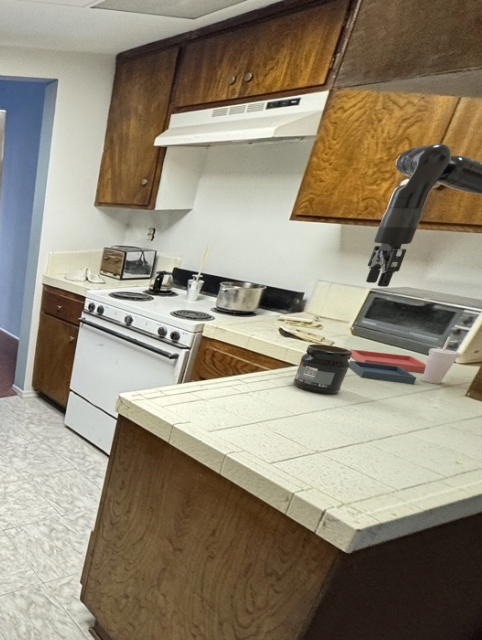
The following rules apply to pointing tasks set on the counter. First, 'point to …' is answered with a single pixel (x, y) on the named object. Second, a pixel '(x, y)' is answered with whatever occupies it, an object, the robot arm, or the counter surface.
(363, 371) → the slate tray
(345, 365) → the supplement container
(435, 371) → the smoothie
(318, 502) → the counter surface
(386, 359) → the rose tray
